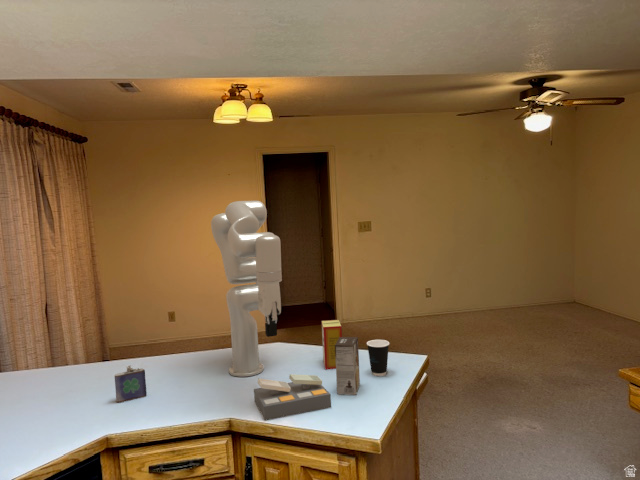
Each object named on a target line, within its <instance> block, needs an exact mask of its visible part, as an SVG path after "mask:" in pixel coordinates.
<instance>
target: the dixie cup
mask: <svg viewBox="0 0 640 480" xmlns="http://www.w3.org/2000/svg"><path fill="white" fill-rule="evenodd" d="M390 344H391V343H390V342H389V341H388V340H385V339H372V340H368V341H366V345H367V352H368V359H369V364H370V371H371V375H373V376H374V377H375V376H376V377H382V376H386V373H387V370H388V359H389V346H390Z"/></svg>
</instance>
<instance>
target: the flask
mask: <svg viewBox="0 0 640 480" xmlns="http://www.w3.org/2000/svg"><path fill="white" fill-rule="evenodd" d="M146 381H147V380H146V370H145V369H144V368H141V367H140V368H139V367H136V368H133V367H132V366H131V365H128V366H126V371H123V372H119V373H116V374H115V375H114V387H115V401H116V403H124V402H128V401H133V400H135V399H136V400H137V399H141V398H145V397H147V393H148V392H147V382H146Z"/></svg>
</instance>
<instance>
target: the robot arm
mask: <svg viewBox="0 0 640 480" xmlns="http://www.w3.org/2000/svg"><path fill="white" fill-rule="evenodd" d="M267 214H268V210H267V208H266V206H265V204H264V203H263V202H262V201H260V200H237V201H233V202H230V203H229V204H228V205H227V206H226V208H225V210H224V212H222V213H219V214H218V213H217V214H216V215H214V216H213V217H212V219H211V221H210V225H211V226H210V227H211V228H210V229H211V233H212V236H213V239H214V241H215V243H216V245H217V247H218V249H219V251H220V254H221V258H222V263H223V264H222V265H223V269H224V273H225V277H226V281H227V282H228V283H229V284H230V285H237V286H233V287H231V288H230V289H228V291H227V292H226V296H225V297H226V305H227V309H228V314H229V322H230V336H231V337H230V339H231V350H232V351H231V352H232V353H231V354H232V355H231V356H232V366H230V368H229V369H228V373H229V374H230V375H231V376H233V377H238V378H241V377H242V378H244V377H252V376H257V375H258V374H261V373H262V372H263V371H264V368H265V367H264V364H263V363H261V362H260V357H259V337H258V334H259V333H258V323H257V320H256V319H255V317H254V316H252V314H251V313H250V312H253V311H259V312H260V313H261V314H262V315H263V316H264V322H265V323H264V330H265V333H264V334H265V336H266V337H267V338H270V337H276V336H277V335H278V329H277V328H278V326H277V324H278V323H277V322H278V316H279V315H281V313H282V301H281V298H282V297H281V288H280V282H282V281H283V279H282V278H283V275H282V252H281V251H282V248H281V246H282V245H281V244H282V243H281V239H280V237H279V236H278V235H276V234H274V233H273V232H270V231H265V232H258V231H259V230H260V228H261V227H262V226H263V225H264V223H265V222H266V220H267V218H268V215H267ZM251 283H252V284H251Z"/></svg>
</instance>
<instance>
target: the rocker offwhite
mask: <svg viewBox="0 0 640 480" xmlns="http://www.w3.org/2000/svg"><path fill="white" fill-rule="evenodd" d="M287 383H288V382H287V381H281V380H272V379H265V378H258V379H257V384H258V386H259V388H264V389H271V390H279V391H287V392H290V389H291V388H290V386H289V385H288V384H287Z"/></svg>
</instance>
